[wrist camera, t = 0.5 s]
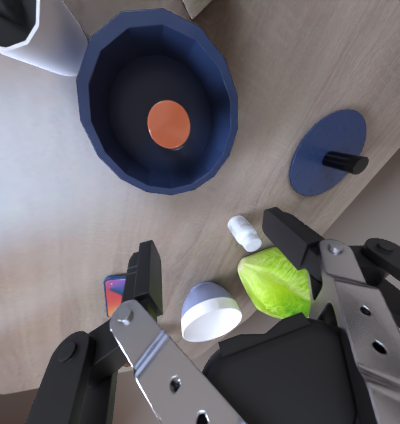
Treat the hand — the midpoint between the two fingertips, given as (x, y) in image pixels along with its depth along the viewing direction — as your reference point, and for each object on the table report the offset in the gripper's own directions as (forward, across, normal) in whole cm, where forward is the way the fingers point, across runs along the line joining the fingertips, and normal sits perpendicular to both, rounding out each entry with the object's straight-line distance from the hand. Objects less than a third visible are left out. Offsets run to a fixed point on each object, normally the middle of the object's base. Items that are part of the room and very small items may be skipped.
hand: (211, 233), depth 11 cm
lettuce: (+18, -18, +33) cm, 42 cm away
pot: (+18, +1, -6) cm, 19 cm away
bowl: (+18, +1, +39) cm, 43 cm away
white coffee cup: (+19, +10, -15) cm, 26 cm away
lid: (+18, -30, +5) cm, 35 cm away
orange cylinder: (+18, +1, -6) cm, 19 cm away
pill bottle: (+18, -10, +16) cm, 26 cm away
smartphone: (+18, +21, +29) cm, 40 cm away
